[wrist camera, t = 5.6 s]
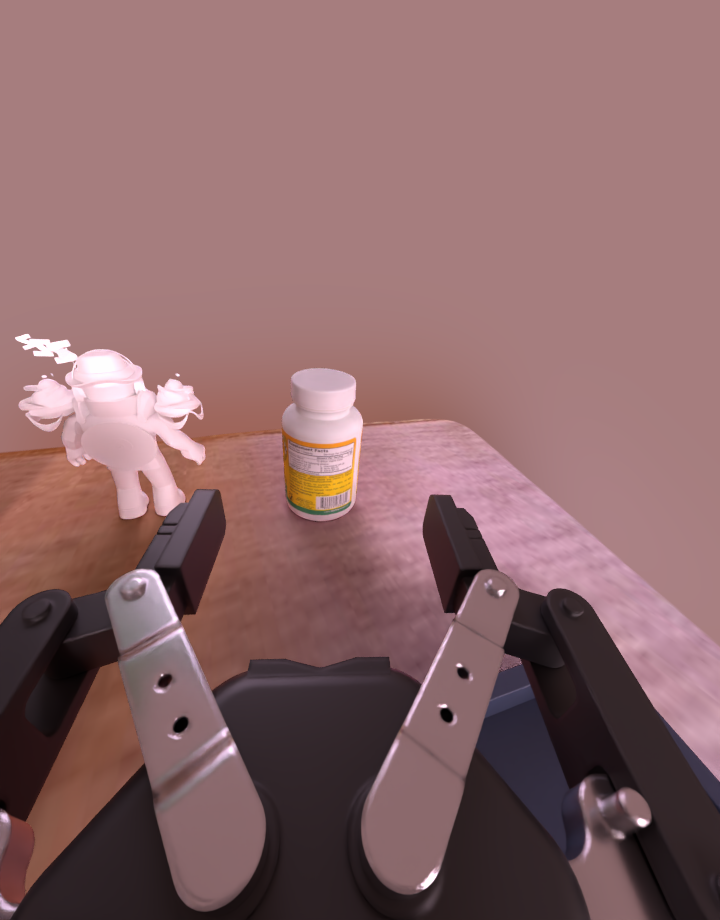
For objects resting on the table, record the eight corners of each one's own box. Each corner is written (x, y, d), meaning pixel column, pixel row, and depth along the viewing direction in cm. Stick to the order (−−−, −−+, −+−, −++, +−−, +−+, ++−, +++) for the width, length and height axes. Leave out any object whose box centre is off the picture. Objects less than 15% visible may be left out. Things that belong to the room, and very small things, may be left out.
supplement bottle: (336, 533, 23) (343, 404, 18) (270, 508, 25) (259, 382, 20) (366, 490, 28) (379, 375, 22) (308, 471, 29) (308, 359, 24)
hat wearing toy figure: (67, 530, 22) (-40, 337, 15) (95, 491, 25) (17, 317, 18) (216, 522, 24) (179, 343, 17) (225, 486, 27) (196, 324, 20)
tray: (591, 1766, 5) (713, 2113, 3) (348, 751, 14) (352, 725, 12) (951, 1156, 8) (1085, 1193, 7) (569, 665, 17) (593, 637, 16)
